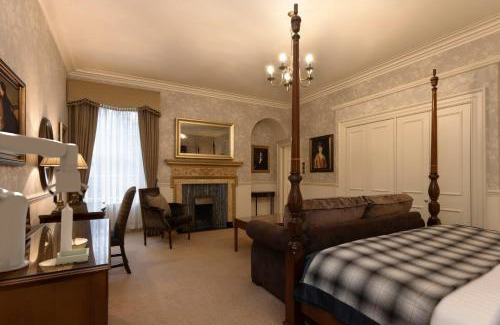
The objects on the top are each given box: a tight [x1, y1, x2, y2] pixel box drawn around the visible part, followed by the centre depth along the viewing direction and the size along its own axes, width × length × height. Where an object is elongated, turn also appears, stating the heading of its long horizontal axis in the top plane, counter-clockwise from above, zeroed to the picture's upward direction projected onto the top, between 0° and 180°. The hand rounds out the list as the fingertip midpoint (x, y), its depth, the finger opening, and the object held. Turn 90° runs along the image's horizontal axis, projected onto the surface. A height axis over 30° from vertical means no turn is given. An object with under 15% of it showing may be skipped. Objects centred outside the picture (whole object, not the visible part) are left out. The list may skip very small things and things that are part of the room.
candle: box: [56, 202, 74, 257], centre depth 131 cm, size 7×7×25 cm
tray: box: [55, 247, 90, 266], centre depth 123 cm, size 12×12×3 cm
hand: (68, 203), depth 132 cm, fingers open, 9 cm apart
